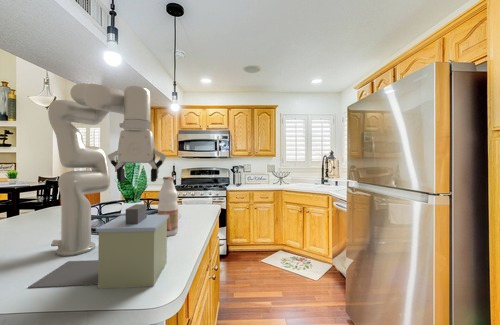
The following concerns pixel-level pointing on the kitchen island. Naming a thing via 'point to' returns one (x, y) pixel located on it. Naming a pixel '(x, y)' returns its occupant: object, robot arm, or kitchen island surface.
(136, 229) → the lid
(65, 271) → the mat
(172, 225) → the fruit juice
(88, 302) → the kitchen island surface
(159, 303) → the kitchen island surface
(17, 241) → the kitchen island surface
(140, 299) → the kitchen island surface
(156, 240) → the storage box
